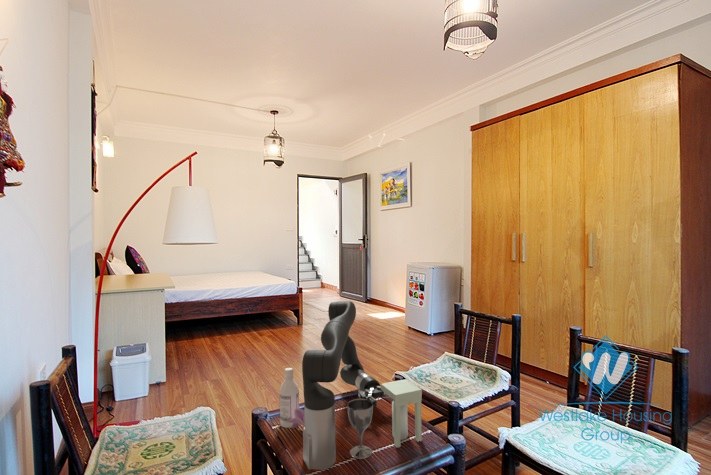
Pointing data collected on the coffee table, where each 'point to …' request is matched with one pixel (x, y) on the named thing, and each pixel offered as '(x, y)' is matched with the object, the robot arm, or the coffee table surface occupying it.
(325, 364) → the robot arm
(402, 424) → the white plastic cylinder
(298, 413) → the lily
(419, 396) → the small green stool
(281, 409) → the bath foam
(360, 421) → the wine glass
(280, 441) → the coffee table surface
